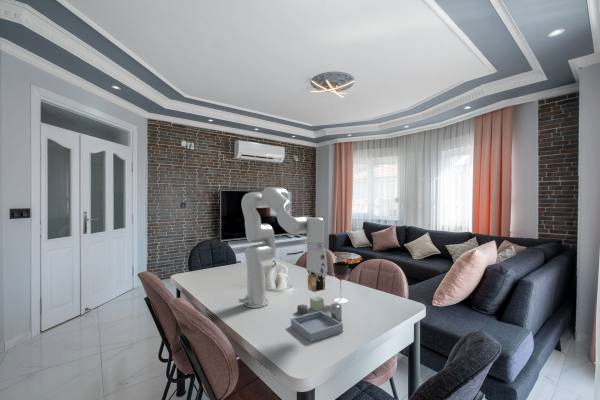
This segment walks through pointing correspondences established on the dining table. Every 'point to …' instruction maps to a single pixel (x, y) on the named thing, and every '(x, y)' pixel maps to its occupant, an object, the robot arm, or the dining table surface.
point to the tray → (316, 326)
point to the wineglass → (340, 277)
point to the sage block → (317, 303)
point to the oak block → (314, 282)
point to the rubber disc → (302, 309)
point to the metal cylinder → (336, 312)
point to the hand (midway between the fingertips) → (316, 287)
